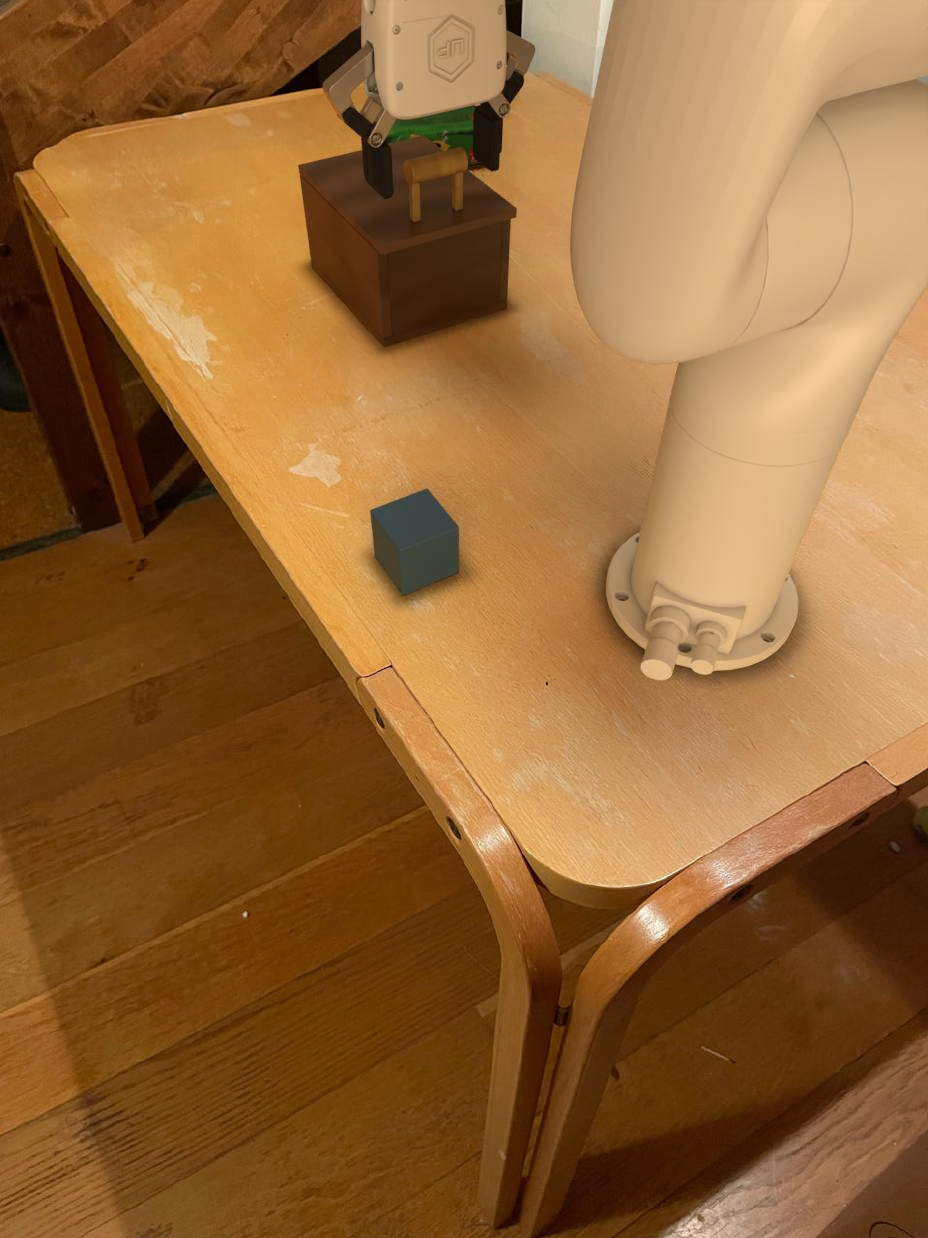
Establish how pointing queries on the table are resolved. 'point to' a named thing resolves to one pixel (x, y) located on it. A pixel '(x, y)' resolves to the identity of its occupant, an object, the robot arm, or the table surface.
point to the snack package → (439, 130)
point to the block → (415, 541)
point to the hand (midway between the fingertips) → (434, 177)
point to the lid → (409, 195)
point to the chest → (408, 274)
